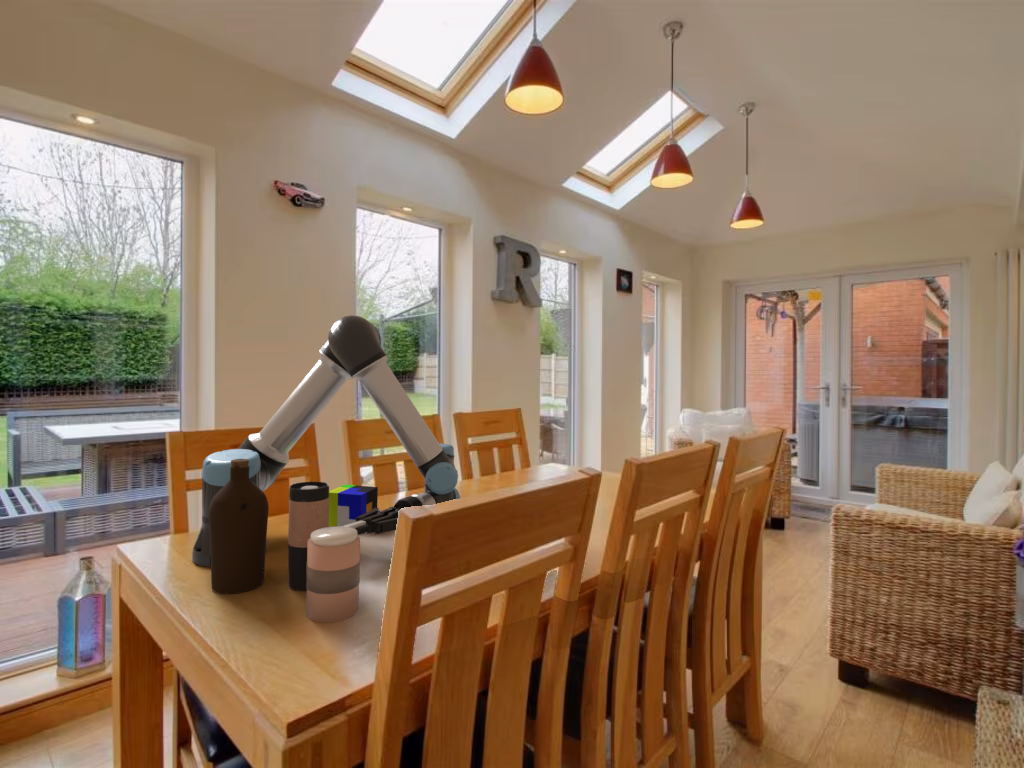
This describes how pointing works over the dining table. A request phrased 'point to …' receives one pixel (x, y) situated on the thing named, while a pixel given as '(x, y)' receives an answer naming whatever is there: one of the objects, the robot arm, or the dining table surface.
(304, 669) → the dining table surface
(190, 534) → the dining table surface
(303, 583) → the travel mug
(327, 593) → the terracotta canister
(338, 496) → the puzzle toy
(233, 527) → the olive oil
